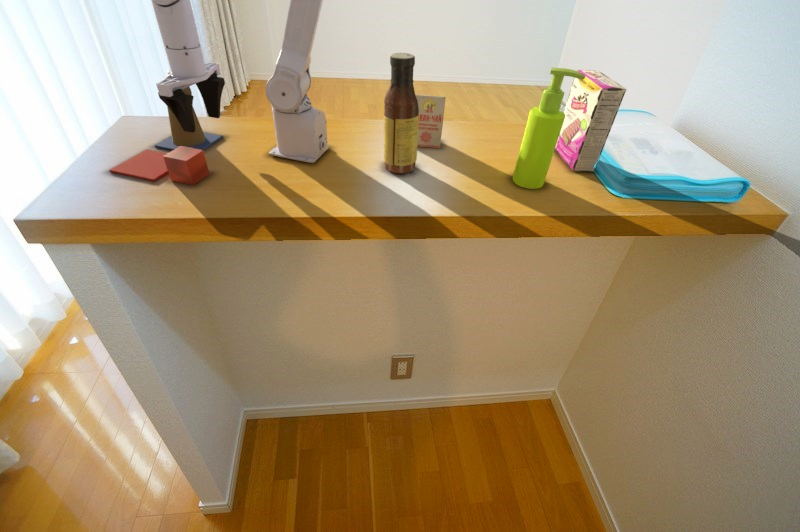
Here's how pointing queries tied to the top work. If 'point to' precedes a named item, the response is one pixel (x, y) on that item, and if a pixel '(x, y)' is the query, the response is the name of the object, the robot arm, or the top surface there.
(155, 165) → the red mat
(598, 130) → the candy bar box
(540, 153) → the soap dispenser
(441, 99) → the beige carton box
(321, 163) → the top surface
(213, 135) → the blue mat
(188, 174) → the red block
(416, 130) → the sauce bottle
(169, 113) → the cork
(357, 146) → the top surface
